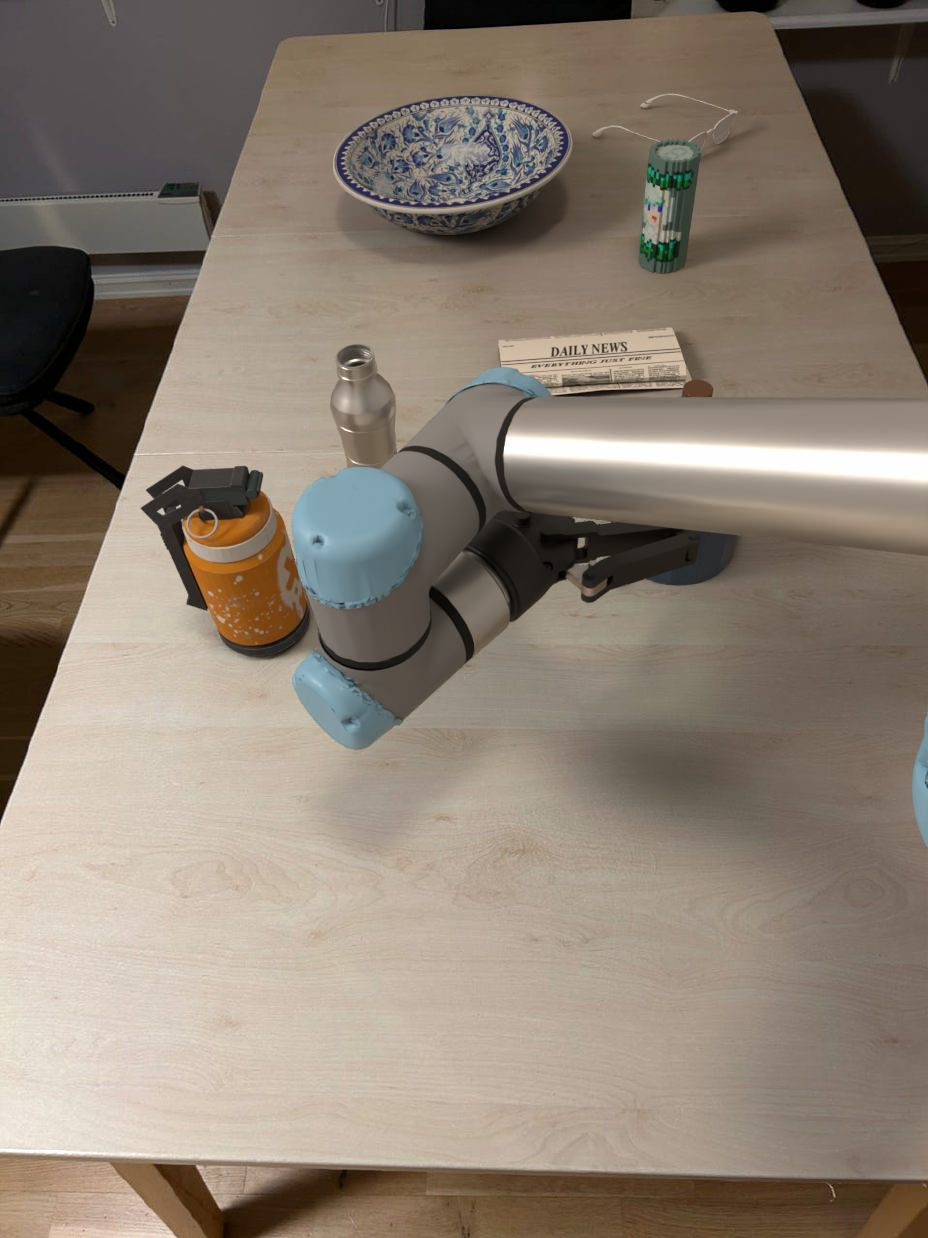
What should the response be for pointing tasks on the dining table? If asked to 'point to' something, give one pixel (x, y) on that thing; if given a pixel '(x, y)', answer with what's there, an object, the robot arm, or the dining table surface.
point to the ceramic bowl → (453, 161)
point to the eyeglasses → (698, 139)
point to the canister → (232, 556)
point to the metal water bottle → (363, 408)
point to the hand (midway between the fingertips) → (652, 441)
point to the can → (668, 205)
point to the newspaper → (599, 360)
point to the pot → (702, 560)
